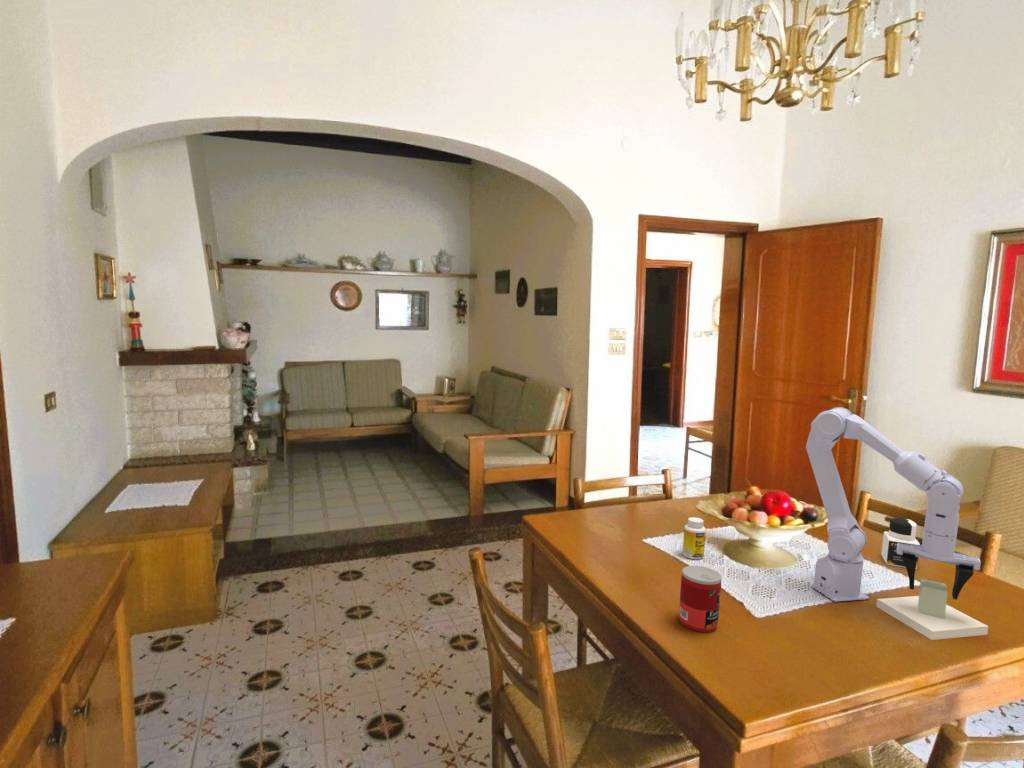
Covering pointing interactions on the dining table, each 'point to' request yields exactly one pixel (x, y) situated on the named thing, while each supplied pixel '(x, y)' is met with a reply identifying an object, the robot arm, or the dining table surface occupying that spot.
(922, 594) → the sage block
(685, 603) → the canned food
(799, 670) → the dining table surface
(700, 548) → the supplement bottle
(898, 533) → the medicine bottle
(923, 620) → the cream slab
